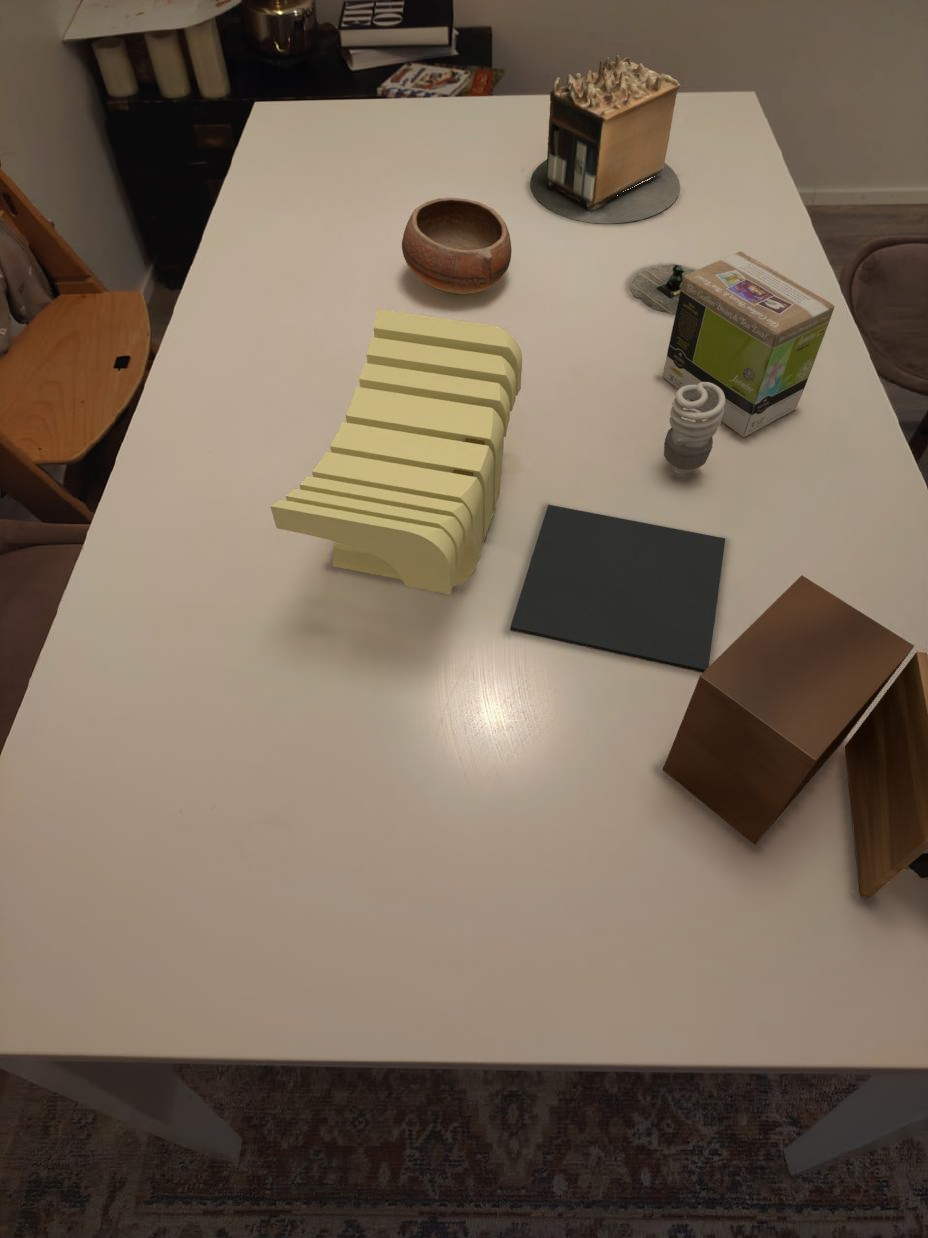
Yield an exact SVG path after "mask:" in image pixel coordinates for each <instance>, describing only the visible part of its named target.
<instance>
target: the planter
mask: <svg viewBox="0 0 928 1238" xmlns="http://www.w3.org/2000/svg"><path fill="white" fill-rule="evenodd" d="M631 60H632V58H631V57H629V56H626V57H625V58H624V59H622V60H621V57H620V55H619V54H616V56H615V61H610V57H609V56H607V57H606V58H605V61H604V62H603V60H601V59H600V61H599V66H598V67H599V68H598V70H596V71H595V72H593V71H592V69H588V71H587V74H586V75H585V76H582V74H581V73H580V72H578V73H576V74H575V75H574V77H575V78H574V77H573V76H572V75H571V74H570V73H568V75H567V78H566V83H565V84H564V85H563V86H561V87H560V86H559V85H561V84H562V81H561V77H559V76H558V77H556V79H555V81H554V83H553V87H552V90H551V91H550V92H549V101H550V103H549V118H548V132H547V133H548V136H547V158H546V159H545V160H543V161H542V162H540V164H539V165H538V166H537V167H536V168H535V170H533V172H532V174H531V177H530V189H531V192H532V194H533V196H534V198H535V199H536V200H537V201H538V202H539V203H540V204H541V205H542V206H544V207H545V208H547V209H548V210H549V211H552V212H554V213H555V214H557V215H560V216H562V217H565V218H568V219H571V220H575V221H579V222H583V223H592V224H623V223H624V224H625V223H629V222H635V221H640V220H644V219H648V218H650V217H653V216H655V215H657V214H660V213H661V212H663V211H665V210H666V209H668V208H669V207H670V206H672V205H673V203H675V202H676V200H677V199H678V197H679V194H680V191H681V183H680V180H679V177H678V176H677V174H676V172H675V171H674V169H673V168H672V167H671V166H670V165H669V164H667V163H666V162H665V161H666V157H667V151H668V147H669V142H670V137H671V129H672V123H673V117H674V112H675V111H674V110H675V105H676V100H677V96H678V91H679V89H680V87H681V83H679V80H677V79H675V78H673V77H672V76H671V75H669V74H665V73H664V72H663V73H658V72H657V71H655V70H653V69H650V68H649V67H646V66H644V65H643V63H641V62H640V63H639V64H637V63H635V62H633V61H631ZM609 61H610V62H609ZM654 176H655V177H654ZM651 177H653V178H651ZM649 178H651V179H650V180H648V181H645V180H647V179H649ZM642 181H645V182H643V183H641V182H642ZM639 183H641V184H639ZM637 184H639V185H637ZM635 185H637V186H635ZM634 186H635V187H634ZM632 187H633V188H632ZM630 188H631V189H630ZM627 189H629V190H627ZM625 190H626V191H625ZM623 191H624V192H623ZM617 195H618V196H617Z"/></svg>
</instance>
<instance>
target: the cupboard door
mask: <svg viewBox="0 0 928 1238" xmlns="http://www.w3.org/2000/svg"><path fill="white" fill-rule="evenodd" d="M844 755H845V763H846V764H845V765H846V773H847V774H846V775H847V781H848V790H849V801H850V807H851V808H850V810H851V819H852V828H853V838H854V846H855V847H854V848H855V856H856V864H857V873H858V875H857V876H858V882H859V884H858V885H859V893H860V897H864V898H872V897H873V896H874V895H875V894H877V893H878V892H879V891H880V890H881V889H883V888H884V887H885V886H886V885H887V884H889V883H890V882H891V881H892V880H893V879H894V878H895V877H897V876H898V875H899V874H900V873H901V872H903V871H904V870H906V871H907V870H908V871H913V870H912V869H911V868H910V867H909V866H908V865H910V864H911V863H912V862H913V861H914V860H916V859H917V858H918V857H919V856H920V855H921V854H923V853H928V653H927V652H924V651H916V652H915V653H914V654H913V656H912V657H911V659H910V660H909V661H908V662H907V664H905V666H904V668H903V669H902V670H901V672H900V673H899V674H898V675H897V676H896V678H895V679H894V680H893V682H892V683H891V685H890V686H889V687H888V688H887V690H886V691H885V693H884V694H883V695H882V696H881V698H880V699H879V700H878V702H877V703H876V704H875V706H874V707H873V708H872V709H871V711H870V712H869V713H868V715H867V716H866V718H864V720H863V721H862V722H861V724H860V725H859V727H858V728H857V730H856V731H855V732H854V733H853V735H852V736H851V737H850V739H848V741H847V742H846V744H845V745H844Z"/></svg>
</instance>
